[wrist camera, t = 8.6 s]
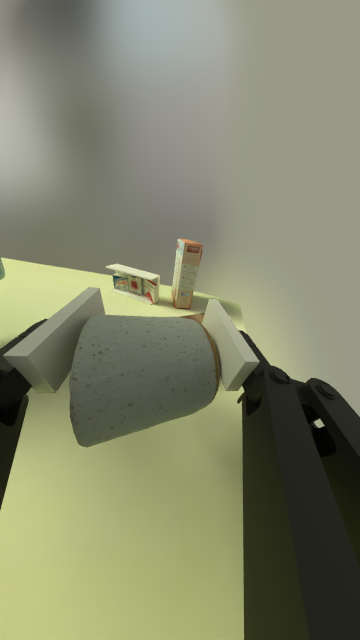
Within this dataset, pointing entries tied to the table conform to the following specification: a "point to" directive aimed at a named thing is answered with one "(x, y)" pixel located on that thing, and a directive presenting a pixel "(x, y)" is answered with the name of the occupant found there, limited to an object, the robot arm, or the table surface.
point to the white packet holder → (135, 284)
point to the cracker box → (185, 272)
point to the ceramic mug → (139, 374)
